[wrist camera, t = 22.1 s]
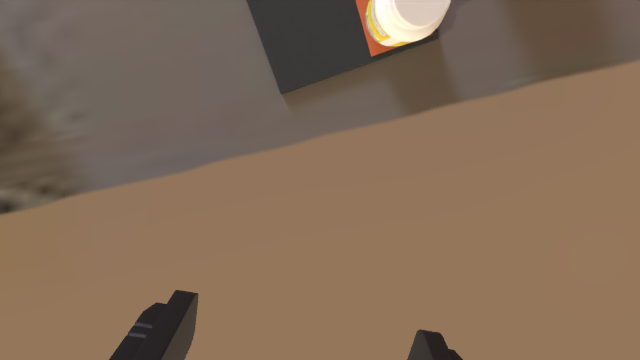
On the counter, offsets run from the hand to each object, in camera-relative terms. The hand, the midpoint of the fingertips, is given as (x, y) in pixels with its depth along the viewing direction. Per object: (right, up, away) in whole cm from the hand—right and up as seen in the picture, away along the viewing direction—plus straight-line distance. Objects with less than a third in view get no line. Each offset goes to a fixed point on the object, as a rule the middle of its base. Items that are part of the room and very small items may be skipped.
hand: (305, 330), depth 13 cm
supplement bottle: (+7, +21, +20) cm, 30 cm away
